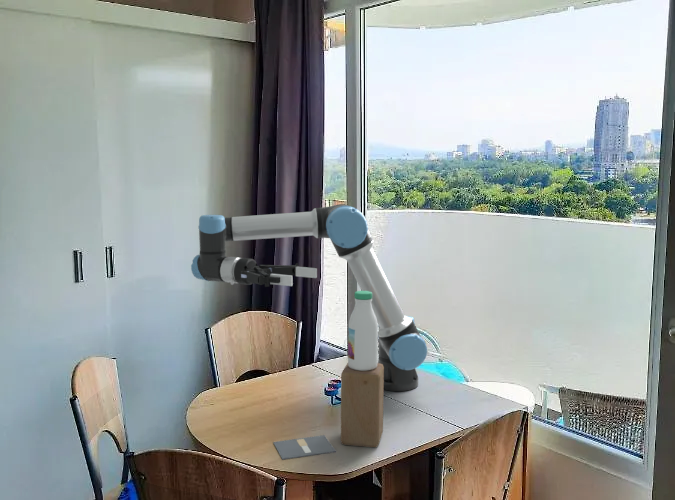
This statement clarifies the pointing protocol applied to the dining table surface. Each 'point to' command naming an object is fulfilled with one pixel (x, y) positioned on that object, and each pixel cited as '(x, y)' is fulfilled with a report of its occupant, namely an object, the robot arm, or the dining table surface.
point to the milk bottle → (363, 334)
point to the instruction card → (304, 447)
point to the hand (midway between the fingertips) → (304, 276)
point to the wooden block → (362, 406)
